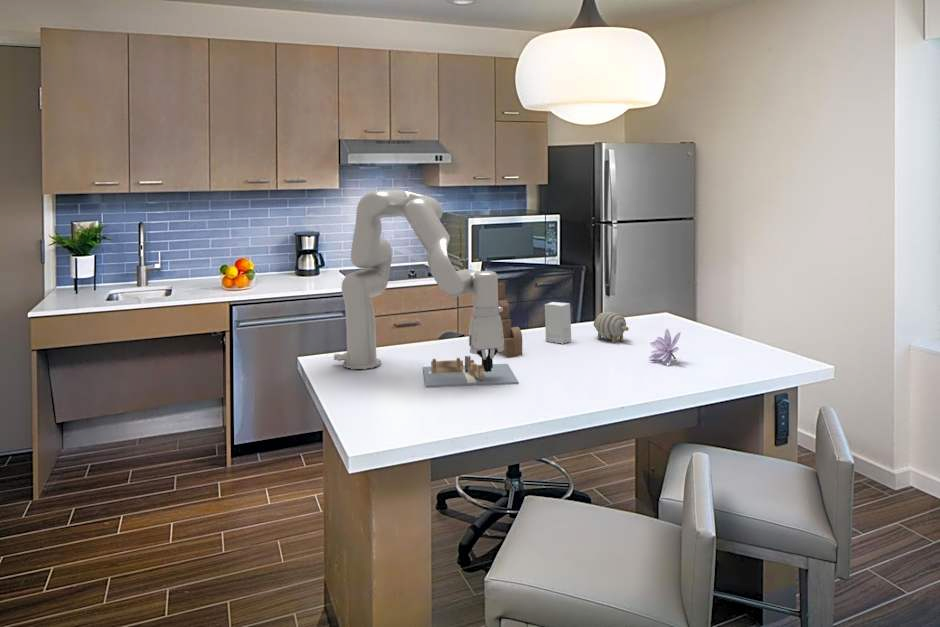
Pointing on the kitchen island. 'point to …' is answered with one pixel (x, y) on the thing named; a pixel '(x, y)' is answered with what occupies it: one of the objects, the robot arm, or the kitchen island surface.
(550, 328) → the skincare box
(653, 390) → the kitchen island surface
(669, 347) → the water lily
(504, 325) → the wooden toy
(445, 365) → the fixed fence rail
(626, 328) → the toy sheep
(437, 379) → the board
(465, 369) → the fence post
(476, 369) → the tan wooden bar
